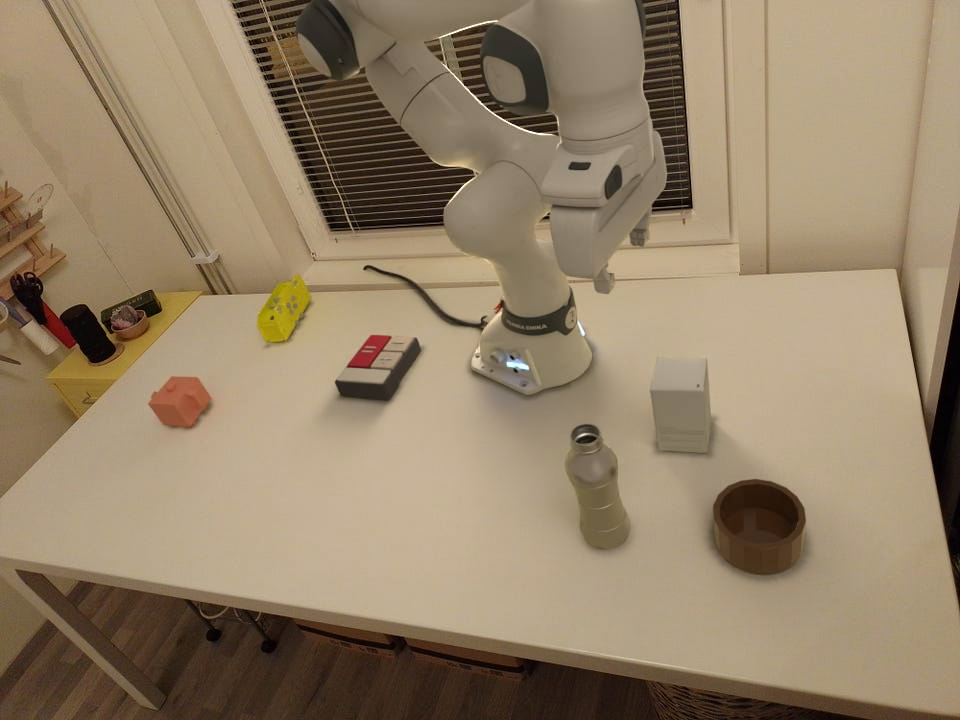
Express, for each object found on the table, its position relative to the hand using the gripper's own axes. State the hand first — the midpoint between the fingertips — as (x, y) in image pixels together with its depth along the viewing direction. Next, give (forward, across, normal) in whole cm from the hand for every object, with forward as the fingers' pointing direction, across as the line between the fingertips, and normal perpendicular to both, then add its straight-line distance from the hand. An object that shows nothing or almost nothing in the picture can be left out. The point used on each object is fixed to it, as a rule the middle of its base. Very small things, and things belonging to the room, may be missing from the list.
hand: (623, 265), depth 78 cm
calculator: (+37, -7, -58) cm, 69 cm away
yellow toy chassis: (+37, -14, -92) cm, 100 cm away
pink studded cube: (+37, +16, -92) cm, 100 cm away
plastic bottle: (+38, +11, -3) cm, 39 cm away
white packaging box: (+37, -10, +1) cm, 39 cm away
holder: (+37, +4, +16) cm, 41 cm away
